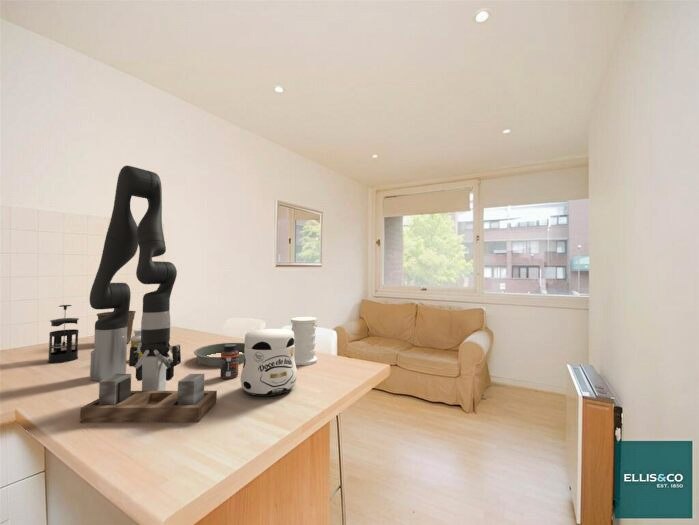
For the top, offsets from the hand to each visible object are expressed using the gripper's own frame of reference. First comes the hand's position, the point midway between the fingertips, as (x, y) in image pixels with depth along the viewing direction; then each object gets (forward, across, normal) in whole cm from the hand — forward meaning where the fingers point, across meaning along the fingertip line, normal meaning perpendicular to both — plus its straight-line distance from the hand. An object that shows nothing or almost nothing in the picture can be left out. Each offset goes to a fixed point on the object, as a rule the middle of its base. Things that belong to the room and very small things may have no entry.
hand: (154, 380), depth 94 cm
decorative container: (+5, +41, +35) cm, 54 cm away
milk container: (+5, +34, +4) cm, 34 cm away
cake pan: (+5, +7, +39) cm, 40 cm away
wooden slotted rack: (+5, +7, -12) cm, 14 cm away
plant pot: (+4, -59, +66) cm, 89 cm away
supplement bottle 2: (+5, +17, +16) cm, 24 cm away
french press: (+4, -60, +37) cm, 71 cm away
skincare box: (+5, 0, 0) cm, 5 cm away
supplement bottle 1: (+4, -28, +37) cm, 47 cm away
